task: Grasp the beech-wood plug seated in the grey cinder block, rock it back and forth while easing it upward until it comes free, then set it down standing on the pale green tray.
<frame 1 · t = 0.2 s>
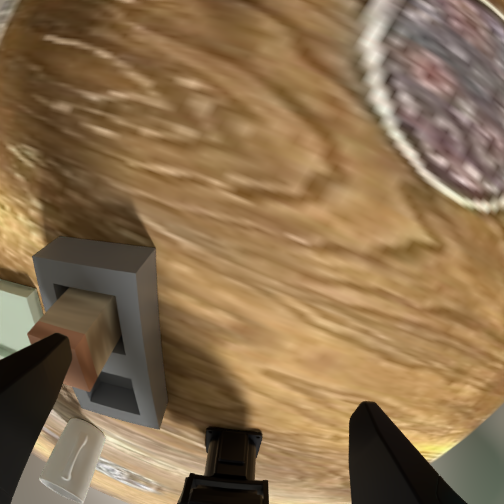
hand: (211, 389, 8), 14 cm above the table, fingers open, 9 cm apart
tray: (14, 323, 27), on the table
plug: (104, 299, 23), point 1 cm above the table, touching grey cinder block
grey cinder block: (115, 331, 26), on the table
mug: (89, 425, 35), on the table
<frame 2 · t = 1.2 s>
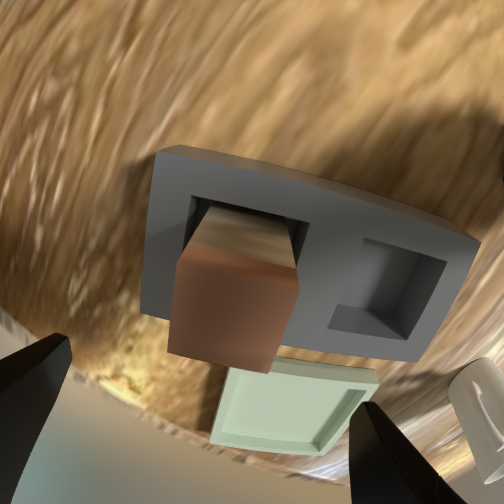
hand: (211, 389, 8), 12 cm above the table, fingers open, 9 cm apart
tray: (286, 406, 25), on the table
plug: (242, 240, 18), point 1 cm above the table, touching grey cinder block
grey cinder block: (309, 249, 19), on the table
mug: (465, 372, 24), on the table
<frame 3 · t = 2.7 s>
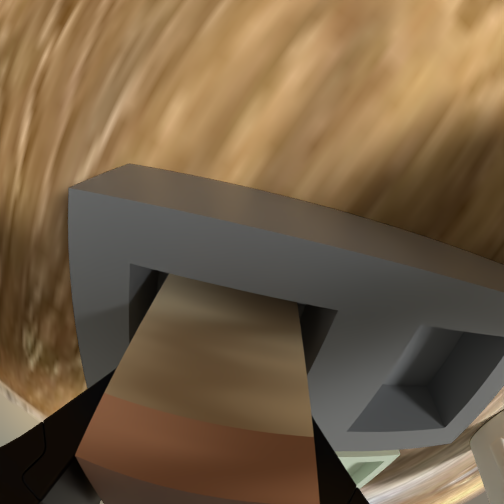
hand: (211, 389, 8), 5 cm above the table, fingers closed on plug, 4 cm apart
tray: (287, 470, 19), on the table
plug: (227, 309, 12), point 1 cm above the table, touching gripper, grey cinder block
grey cinder block: (326, 315, 13), on the table
mug: (491, 421, 18), on the table
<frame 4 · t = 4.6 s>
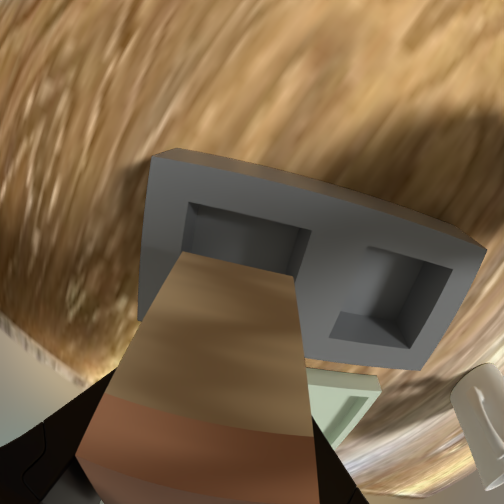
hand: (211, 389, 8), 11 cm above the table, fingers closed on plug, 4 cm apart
tray: (287, 412, 25), on the table
plug: (227, 309, 12), point 7 cm above the table, touching gripper
grey cinder block: (311, 255, 18), on the table
mug: (468, 378, 23), on the table
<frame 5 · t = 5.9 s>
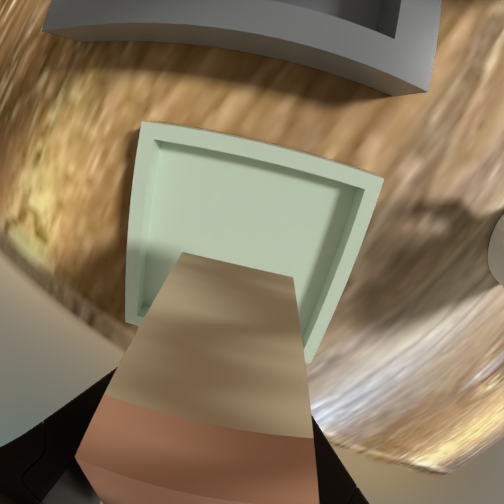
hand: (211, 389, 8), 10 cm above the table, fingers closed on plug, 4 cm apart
tray: (239, 246, 17), on the table
plug: (227, 310, 12), point 6 cm above the table, touching gripper
when the fingers open (6 cm above the table, at t = 7.0 s): plug stays where it is, resting on tray.
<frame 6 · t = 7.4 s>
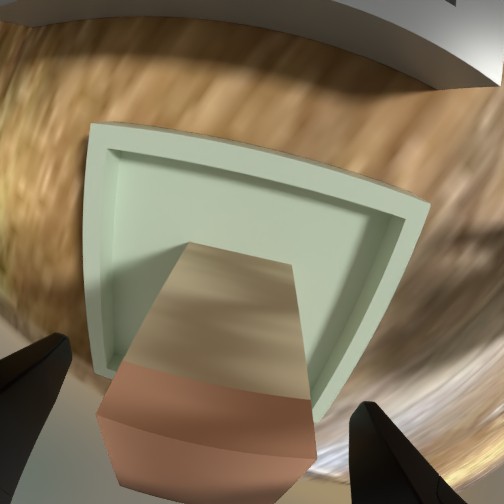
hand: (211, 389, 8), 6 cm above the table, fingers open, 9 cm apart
tray: (231, 289, 13), on the table
plug: (230, 296, 13), point 1 cm above the table, touching tray
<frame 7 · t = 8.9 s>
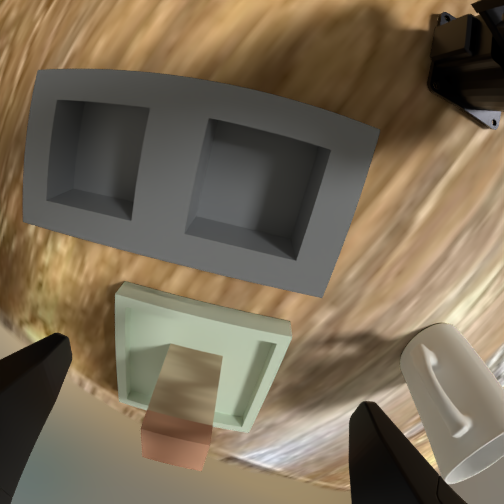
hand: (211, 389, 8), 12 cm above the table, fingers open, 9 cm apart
tray: (194, 362, 23), on the table
plug: (193, 367, 23), point 1 cm above the table, touching tray
grey cinder block: (186, 161, 17), on the table
mug: (421, 341, 22), on the table
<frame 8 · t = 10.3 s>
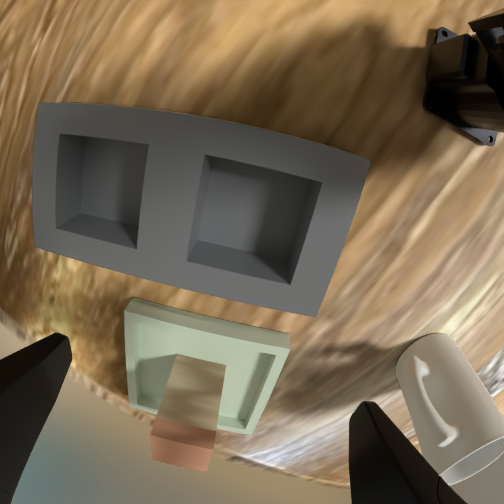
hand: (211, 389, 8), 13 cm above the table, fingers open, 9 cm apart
tray: (199, 370, 25), on the table
plug: (198, 375, 24), point 1 cm above the table, touching tray
grey cinder block: (186, 187, 18), on the table
mug: (416, 350, 23), on the table
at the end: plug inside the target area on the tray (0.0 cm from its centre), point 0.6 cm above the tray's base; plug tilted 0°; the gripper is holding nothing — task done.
